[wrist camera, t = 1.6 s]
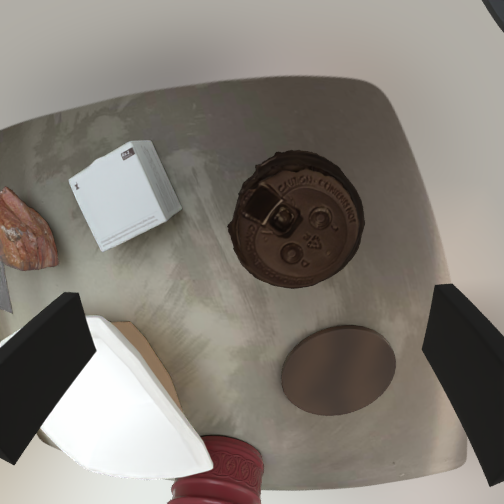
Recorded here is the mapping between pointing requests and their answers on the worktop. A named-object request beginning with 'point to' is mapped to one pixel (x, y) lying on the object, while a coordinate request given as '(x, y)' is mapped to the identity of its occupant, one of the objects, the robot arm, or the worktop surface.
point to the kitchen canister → (223, 475)
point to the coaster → (338, 370)
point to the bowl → (125, 412)
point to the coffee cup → (296, 220)
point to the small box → (125, 194)
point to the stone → (24, 235)
